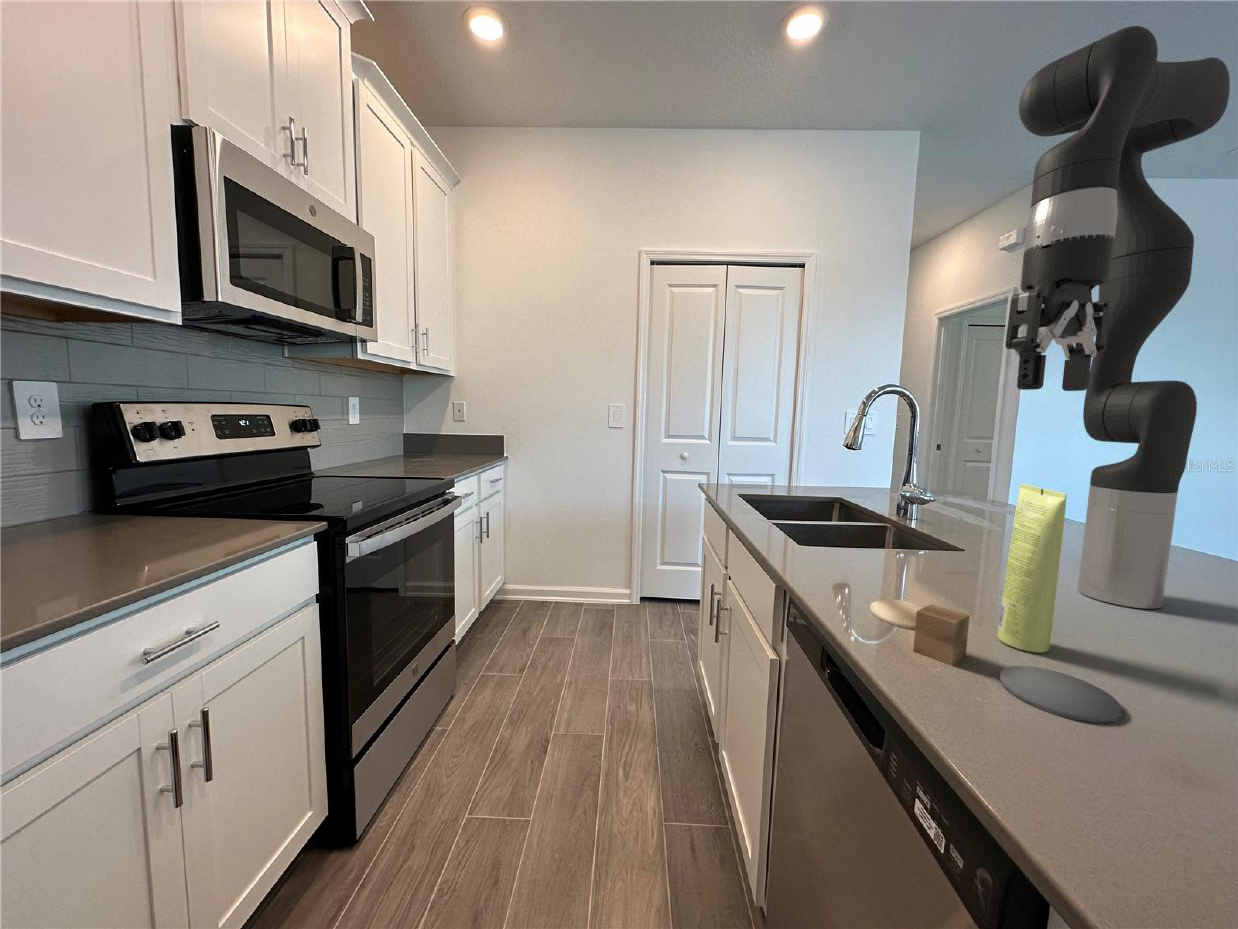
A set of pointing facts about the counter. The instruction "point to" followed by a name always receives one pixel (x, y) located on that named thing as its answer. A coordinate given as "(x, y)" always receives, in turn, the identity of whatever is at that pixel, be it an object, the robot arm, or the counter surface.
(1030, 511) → the tube
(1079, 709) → the pad
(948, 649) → the walnut block
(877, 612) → the pad
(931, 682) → the counter surface
